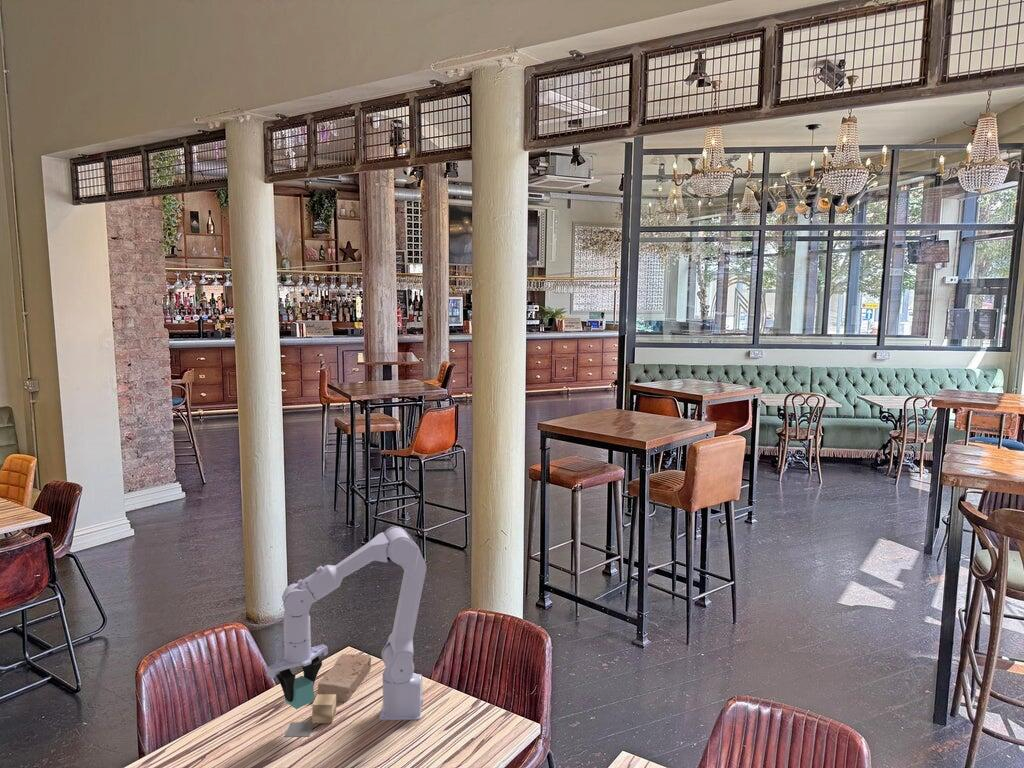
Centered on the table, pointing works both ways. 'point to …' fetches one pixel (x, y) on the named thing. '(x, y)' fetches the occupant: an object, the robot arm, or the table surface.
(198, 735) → the table surface
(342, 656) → the brick
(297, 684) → the teal block
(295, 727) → the plate
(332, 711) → the beech block
